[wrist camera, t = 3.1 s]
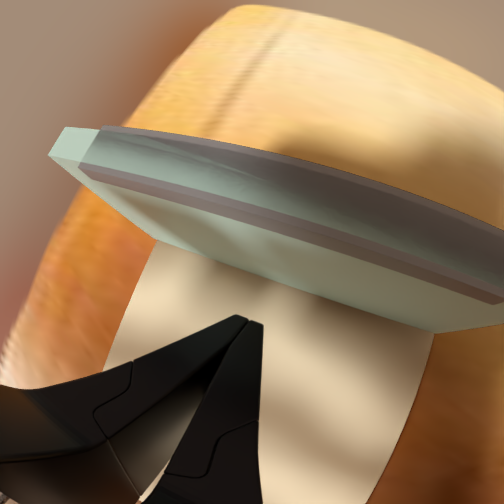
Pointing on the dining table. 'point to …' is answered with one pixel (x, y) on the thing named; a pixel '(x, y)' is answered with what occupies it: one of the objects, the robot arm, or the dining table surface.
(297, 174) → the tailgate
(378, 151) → the dining table surface
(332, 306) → the beige flat square pad
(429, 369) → the dining table surface
